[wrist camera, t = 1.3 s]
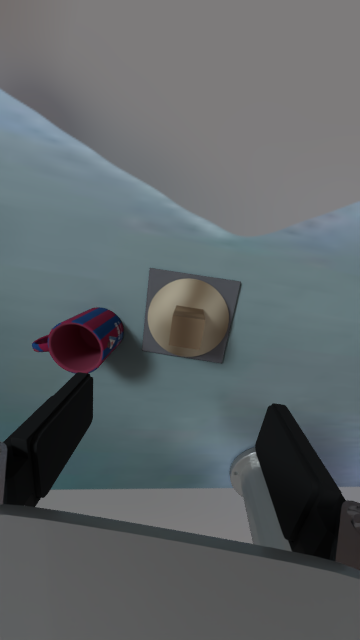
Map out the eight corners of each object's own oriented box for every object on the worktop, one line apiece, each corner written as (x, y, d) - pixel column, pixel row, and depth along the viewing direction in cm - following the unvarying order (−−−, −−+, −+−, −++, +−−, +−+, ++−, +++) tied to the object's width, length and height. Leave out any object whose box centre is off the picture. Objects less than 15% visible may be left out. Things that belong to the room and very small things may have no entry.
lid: (236, 285, 26) (247, 291, 20) (219, 359, 29) (225, 383, 23) (153, 272, 26) (142, 275, 20) (145, 347, 29) (134, 368, 23)
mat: (240, 281, 26) (240, 281, 25) (221, 362, 29) (221, 363, 29) (150, 267, 26) (149, 268, 26) (142, 349, 30) (141, 350, 29)
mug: (124, 351, 30) (105, 376, 23) (61, 346, 30) (25, 370, 24) (123, 308, 28) (101, 323, 21) (55, 304, 28) (14, 317, 22)
